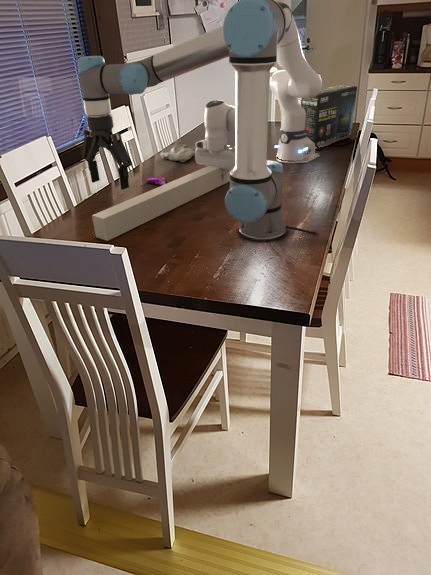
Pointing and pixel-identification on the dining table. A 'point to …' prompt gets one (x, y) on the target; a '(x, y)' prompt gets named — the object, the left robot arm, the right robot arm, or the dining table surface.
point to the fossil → (179, 152)
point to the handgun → (157, 180)
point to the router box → (330, 113)
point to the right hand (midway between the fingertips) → (217, 177)
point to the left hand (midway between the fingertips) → (110, 184)
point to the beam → (156, 202)
